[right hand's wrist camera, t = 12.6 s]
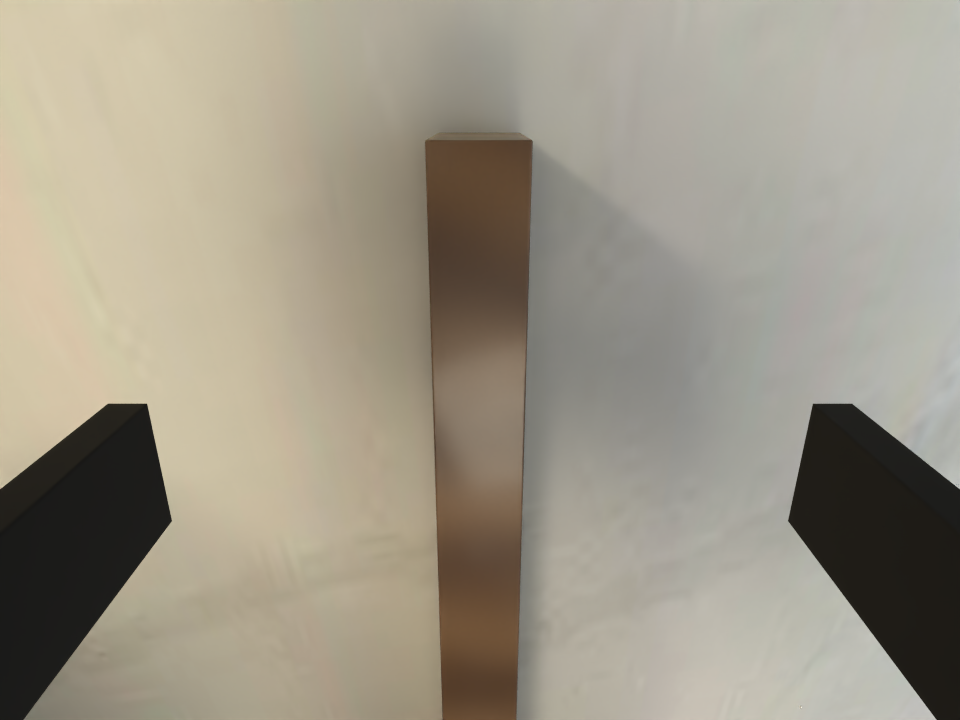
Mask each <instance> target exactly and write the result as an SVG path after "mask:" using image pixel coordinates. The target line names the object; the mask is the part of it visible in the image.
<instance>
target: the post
mask: <svg viewBox="0 0 960 720" xmlns="http://www.w3.org/2000/svg"><path fill="white" fill-rule="evenodd" d="M532 145H533V141H532V140H531V139H529V138H527V137H526V136H524V135H522V134H521V133H438V134H436V135H434V136H433V137H431V138H429V139H427V140H426V141H425V153H426V186H427V219H428V252H429V284H430V317H431V350H432V383H433V416H434V449H435V482H436V515H437V548H438V581H439V614H440V647H441V680H442V713H443V720H516V714H517V678H518V643H519V607H520V571H521V536H522V500H523V465H524V429H525V394H526V358H527V323H528V287H529V252H530V216H531V181H532Z"/></svg>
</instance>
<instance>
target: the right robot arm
mask: <svg viewBox="0 0 960 720" xmlns="http://www.w3.org/2000/svg"><path fill="white" fill-rule="evenodd" d="M171 521H172V519H171V515H170V510H169V505H168V501H167V496H166V491H165V486H164V482H163V477H162V472H161V468H160V463H159V458H158V453H157V449H156V444H155V439H154V435H153V430H152V425H151V420H150V416H149V411H148V406H147V404H107V405H106V406H105V407H103V408H102V409H101V410H100V411H98V412H97V413H96V414H95V415H93V416H92V417H91V418H90V419H88V420H87V421H86V422H85V423H83V424H82V425H81V426H80V427H78V428H77V429H76V430H75V431H73V432H72V433H71V434H69V435H68V436H67V437H66V438H64V439H63V440H62V441H61V442H59V443H58V444H57V445H56V446H54V447H53V448H52V449H51V450H49V451H48V452H47V453H46V454H44V455H43V456H42V457H40V458H39V459H38V460H37V461H35V462H34V463H33V464H32V465H30V466H29V467H28V468H27V469H25V470H24V471H23V472H22V473H20V474H19V475H18V476H17V477H15V478H14V479H13V480H12V481H10V482H9V483H8V484H6V485H5V486H4V487H3V488H1V489H0V720H23V719H24V718H25V717H26V715H27V714H28V713H29V711H30V710H31V709H32V707H33V706H34V705H35V703H36V702H37V701H38V699H39V698H40V697H41V695H42V694H43V693H44V691H45V690H46V689H47V687H48V686H49V685H50V683H51V682H52V681H53V679H54V678H55V677H56V675H57V674H58V673H59V671H60V670H61V669H62V667H63V666H64V665H65V663H66V662H67V661H68V659H69V658H70V657H71V655H72V654H73V653H74V651H75V650H76V649H77V647H78V646H79V645H80V643H81V642H82V641H83V639H84V638H85V636H86V635H87V634H88V632H89V631H90V630H91V628H92V627H93V626H94V624H95V623H96V622H97V620H98V619H99V618H100V616H101V615H102V614H103V612H104V611H105V610H106V608H107V607H108V606H109V604H110V603H111V602H112V600H113V599H114V598H115V596H116V595H117V594H118V592H119V591H120V590H121V588H122V587H123V586H124V584H125V583H126V582H127V580H128V579H129V578H130V576H131V575H132V574H133V572H134V571H135V570H136V568H137V567H138V566H139V564H140V563H141V562H142V560H143V559H144V558H145V556H146V555H147V554H148V552H149V551H150V550H151V548H152V547H153V545H154V544H155V543H156V541H157V540H158V539H159V537H160V536H161V535H162V533H163V532H164V531H165V529H166V528H167V527H168V525H169V524H170V523H171ZM788 521H789V523H790V524H791V525H792V527H793V528H794V529H795V531H796V532H797V533H798V535H799V536H800V537H801V539H802V540H803V541H804V543H805V544H806V545H807V547H808V548H809V550H810V551H811V552H812V554H813V555H814V556H815V558H816V559H817V560H818V562H819V563H820V564H821V566H822V567H823V568H824V570H825V571H826V572H827V574H828V575H829V576H830V578H831V579H832V580H833V582H834V583H835V584H836V586H837V587H838V588H839V590H840V591H841V592H842V594H843V595H844V596H845V598H846V599H847V600H848V602H849V603H850V604H851V606H852V607H853V608H854V610H855V611H856V612H857V614H858V615H859V616H860V618H861V619H862V620H863V622H864V623H865V624H866V626H867V627H868V628H869V630H870V631H871V632H872V634H873V635H874V637H875V638H876V639H877V641H878V642H879V643H880V645H881V646H882V647H883V649H884V650H885V651H886V653H887V654H888V655H889V657H890V658H891V659H892V661H893V662H894V663H895V665H896V666H897V667H898V669H899V670H900V671H901V673H902V674H903V675H904V677H905V678H906V679H907V681H908V682H909V683H910V685H911V686H912V687H913V689H914V690H915V691H916V693H917V694H918V695H919V697H920V698H921V699H922V701H923V702H924V703H925V705H926V706H927V707H928V709H929V710H930V711H931V713H932V714H933V715H934V717H935V718H936V719H937V720H960V489H959V488H957V487H956V486H955V485H954V484H952V483H951V482H950V481H948V480H947V479H946V478H945V477H943V476H942V475H941V474H940V473H938V472H937V471H936V470H935V469H933V468H932V467H931V466H930V465H928V464H927V463H926V462H925V461H923V460H922V459H921V458H920V457H918V456H917V455H916V454H914V453H913V452H912V451H911V450H909V449H908V448H907V447H906V446H904V445H903V444H902V443H901V442H899V441H898V440H897V439H896V438H894V437H893V436H892V435H891V434H889V433H888V432H887V431H885V430H884V429H883V428H882V427H880V426H879V425H878V424H877V423H875V422H874V421H873V420H872V419H870V418H869V417H868V416H867V415H865V414H864V413H863V412H862V411H860V410H859V409H858V408H857V407H855V406H854V405H853V404H813V406H812V411H811V416H810V420H809V425H808V430H807V435H806V439H805V444H804V449H803V453H802V458H801V463H800V468H799V472H798V477H797V482H796V486H795V491H794V496H793V501H792V505H791V510H790V515H789V519H788Z"/></svg>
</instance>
